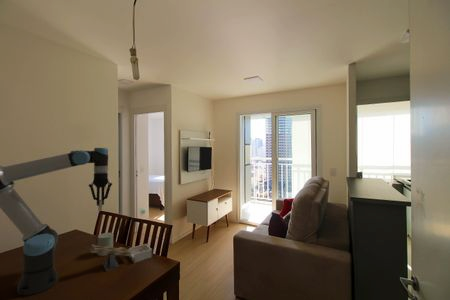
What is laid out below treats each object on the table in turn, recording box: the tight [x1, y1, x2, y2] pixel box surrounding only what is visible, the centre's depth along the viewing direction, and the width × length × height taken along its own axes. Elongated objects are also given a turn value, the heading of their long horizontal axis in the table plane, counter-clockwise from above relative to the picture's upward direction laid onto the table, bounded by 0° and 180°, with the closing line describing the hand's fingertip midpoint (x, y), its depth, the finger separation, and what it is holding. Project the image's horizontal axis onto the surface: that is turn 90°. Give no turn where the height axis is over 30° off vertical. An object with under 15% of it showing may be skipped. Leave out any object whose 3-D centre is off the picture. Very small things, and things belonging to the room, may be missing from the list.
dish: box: [128, 243, 153, 264], centre depth 136 cm, size 11×11×5 cm
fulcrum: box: [101, 253, 120, 272], centre depth 125 cm, size 7×10×8 cm
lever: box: [89, 243, 132, 257], centre depth 127 cm, size 22×12×4 cm, turn 130°
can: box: [96, 232, 114, 257], centre depth 141 cm, size 9×9×12 cm
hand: (100, 210), depth 131 cm, fingers closed
